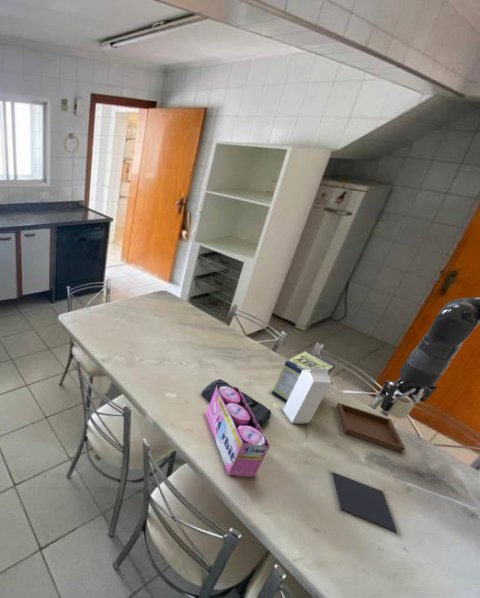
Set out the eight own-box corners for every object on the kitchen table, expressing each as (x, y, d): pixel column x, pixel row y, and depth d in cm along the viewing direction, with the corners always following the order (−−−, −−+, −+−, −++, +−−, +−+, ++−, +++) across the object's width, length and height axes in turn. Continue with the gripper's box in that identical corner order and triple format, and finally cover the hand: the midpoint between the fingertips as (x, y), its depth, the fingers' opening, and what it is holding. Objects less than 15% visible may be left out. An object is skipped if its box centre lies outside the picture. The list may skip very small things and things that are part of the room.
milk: (282, 410, 119) (305, 361, 109) (298, 411, 119) (323, 362, 109) (292, 423, 114) (317, 373, 104) (309, 424, 114) (335, 374, 104)
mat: (381, 492, 93) (382, 491, 93) (396, 532, 83) (397, 531, 83) (332, 473, 97) (332, 472, 97) (340, 509, 88) (341, 508, 87)
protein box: (318, 397, 127) (336, 365, 120) (298, 411, 119) (315, 378, 112) (291, 380, 134) (306, 349, 127) (270, 393, 127) (285, 361, 120)
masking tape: (402, 408, 100) (410, 396, 98) (409, 421, 95) (418, 409, 93) (378, 400, 102) (386, 388, 100) (383, 413, 97) (392, 401, 95)
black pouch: (220, 380, 132) (223, 370, 129) (274, 416, 116) (279, 406, 114) (196, 394, 123) (199, 384, 121) (252, 435, 108) (257, 425, 106)
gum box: (203, 412, 115) (213, 382, 109) (226, 413, 115) (237, 384, 109) (228, 475, 94) (242, 443, 88) (255, 477, 94) (272, 445, 88)
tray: (386, 425, 116) (390, 419, 115) (400, 454, 105) (405, 448, 104) (334, 408, 122) (338, 402, 120) (342, 434, 111) (346, 428, 109)
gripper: (414, 373, 87) (382, 419, 95) (463, 375, 88) (428, 419, 96) (389, 356, 93) (361, 400, 101) (435, 357, 95) (404, 400, 102)
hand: (394, 409), depth 98 cm, fingers closed on masking tape, 6 cm apart
